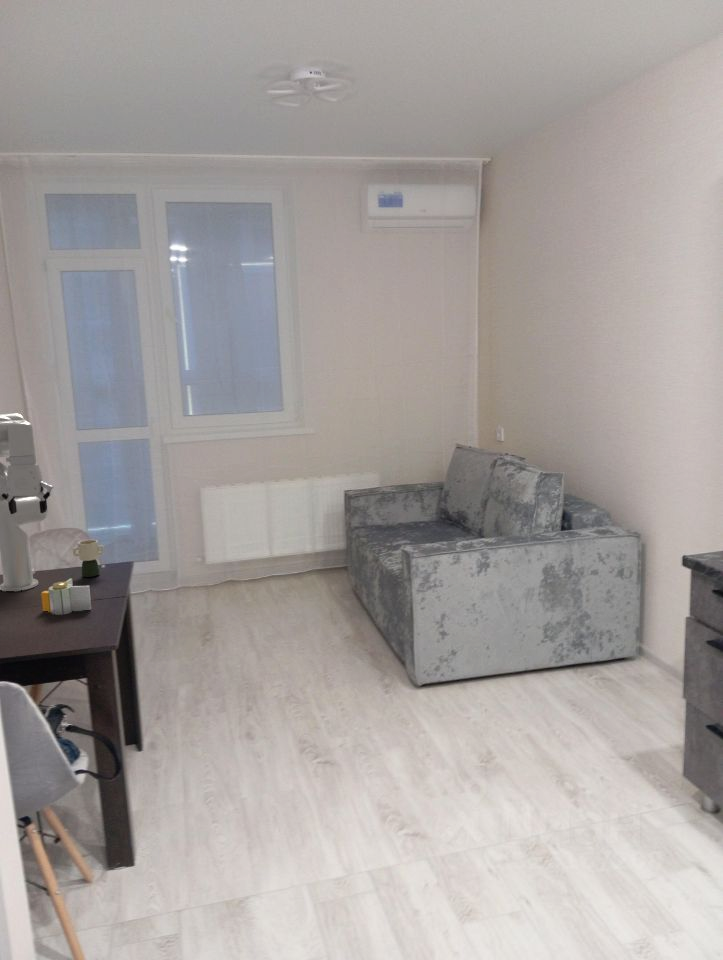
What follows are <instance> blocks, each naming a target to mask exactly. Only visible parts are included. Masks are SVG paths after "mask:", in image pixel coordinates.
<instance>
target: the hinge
mask: <svg viewBox="0 0 723 960" xmlns="http://www.w3.org/2000/svg"><path fill="white" fill-rule="evenodd" d="M66 582H67V584H68V586H67V587H66V588H63V589H53V585H52V586H49V587H48V590H47V591H49V600H50V610H51V612H50V614H52V615H54V614H55V615H54V616H59V615H60V616H62V615H67V614H71V613H73V612H83V611H82V610H91V609H92V601H91V599H92V598H91V590H90V589H91V588H90V585H74V584H73V578H68V579H67V580H66ZM73 585H74V586H73ZM72 611H73V612H72ZM91 611H92V610H91ZM70 612H71V613H70Z"/></svg>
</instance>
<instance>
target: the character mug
mask: <svg viewBox="0 0 723 960" xmlns="http://www.w3.org/2000/svg"><path fill="white" fill-rule="evenodd" d="M99 549H101V551H99ZM76 551H77V552H78V553H77V552H76ZM72 554H73V556H74V557H78V558H79V559H78V560H80V561H82V562H81V576H82V577H85V578H92V577H95V576H97V575H100V569H99V564H98V560H97V559H99V557H100V555H104V554H105V547H104V545H99V542H98V540H97V539H86V540H85V539H84V540H80V541H77V547H75V546H74V547H73V548H72Z"/></svg>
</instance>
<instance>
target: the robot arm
mask: <svg viewBox="0 0 723 960" xmlns="http://www.w3.org/2000/svg"><path fill="white" fill-rule="evenodd" d="M34 440H35V439H34V430H33V425H32V423H31V422H29V421H27V420H26V419H25V418H24V417H23V415H21V414H20V413H16V412H14V413H0V458H4V457H6V458H5V462H6V463H7V462H8V463H9V464H10V465H8V466H6V465H5V464H4V463H2V462H1V461H0V560H1V568H2V570H1V571H2V578H3V583H2V582H1V584H0V591H1V590H2V591H1V592H6V591H14V592H21V590H22V591H27V590H29V589H33V588H35V587H37V586H38V585H39V580H38V579H36V578H34V574H36V570H35V569H34V568H33V564H32V557H31V547H30V538H29V535H28V534H27V532H26V531H24V530H23V529H22V528H21V527H20V526H24V525H29V524H35V523H41V522H43V521H45V520H46V519H47V518H48V515H49V509H48V508H49V507H48V504H47V502H48V501H47V500H48V499H49V497H50V496H51V495H52V493H53V490H54V485H51V484H49V483H46V482H44V481H43V476H42V472H41V469H40V465H39V464H38V463H37V459H36V450H35V441H34ZM44 488H45V489H46V493H45V492H44Z"/></svg>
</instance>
